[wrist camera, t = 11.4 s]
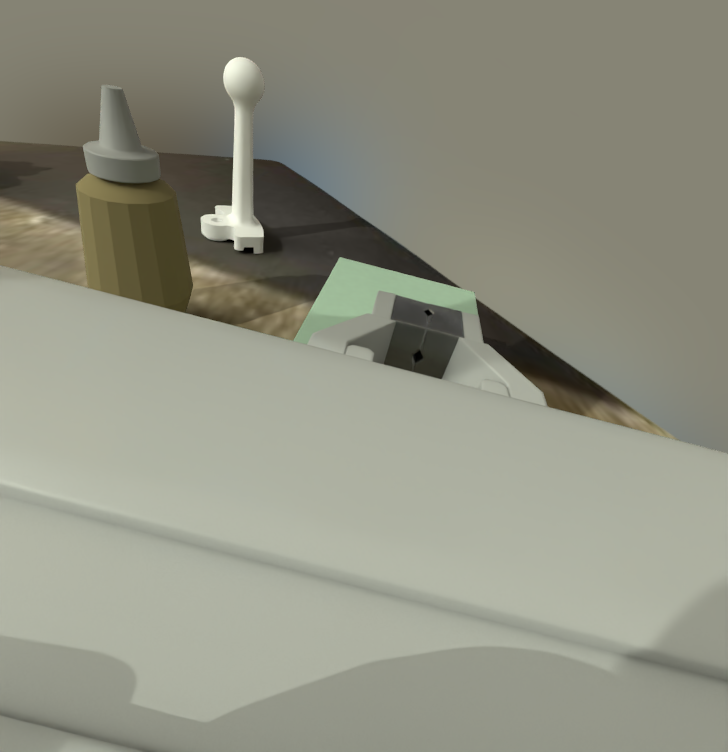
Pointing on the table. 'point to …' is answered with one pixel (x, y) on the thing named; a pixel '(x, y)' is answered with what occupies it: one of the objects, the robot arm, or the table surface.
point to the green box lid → (374, 295)
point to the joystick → (240, 162)
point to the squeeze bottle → (130, 215)
